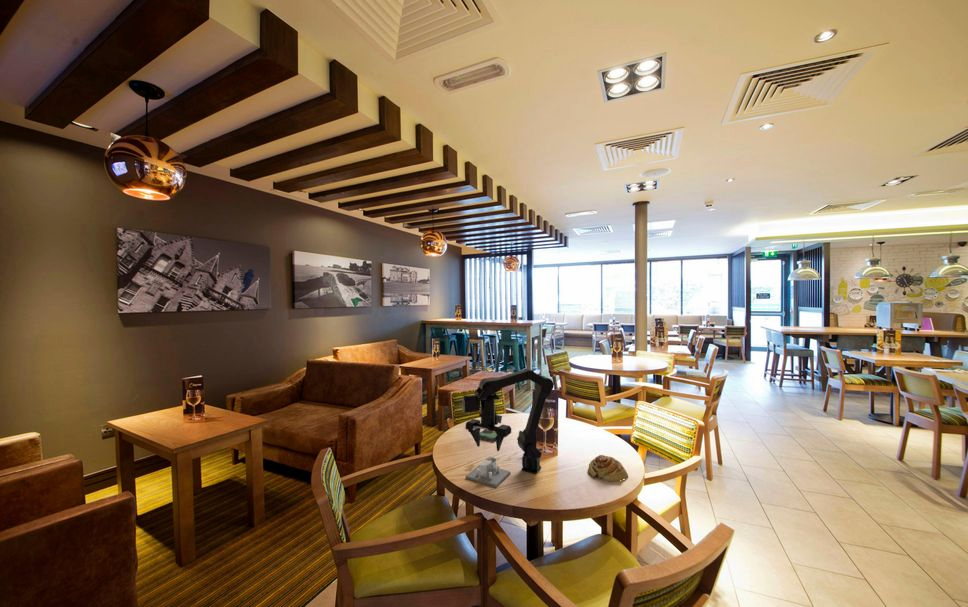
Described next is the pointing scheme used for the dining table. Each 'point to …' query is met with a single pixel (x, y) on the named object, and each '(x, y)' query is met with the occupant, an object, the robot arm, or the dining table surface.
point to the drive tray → (492, 479)
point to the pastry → (607, 469)
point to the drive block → (487, 467)
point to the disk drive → (488, 435)
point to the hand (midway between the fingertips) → (488, 448)
